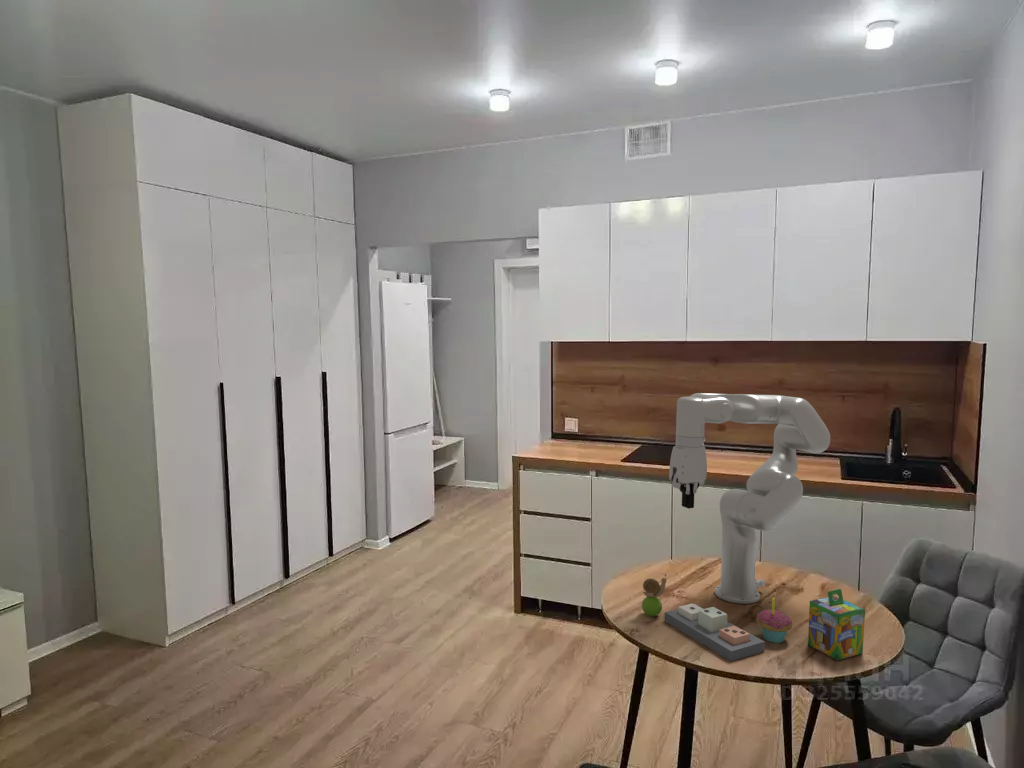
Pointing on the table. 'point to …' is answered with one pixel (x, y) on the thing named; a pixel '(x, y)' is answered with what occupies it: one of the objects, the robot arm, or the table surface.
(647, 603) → the snail figurine
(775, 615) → the cupcake
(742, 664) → the table surface
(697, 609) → the one pip tile
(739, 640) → the pink dice cube
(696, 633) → the button board
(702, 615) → the two pip tile
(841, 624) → the chalk box
